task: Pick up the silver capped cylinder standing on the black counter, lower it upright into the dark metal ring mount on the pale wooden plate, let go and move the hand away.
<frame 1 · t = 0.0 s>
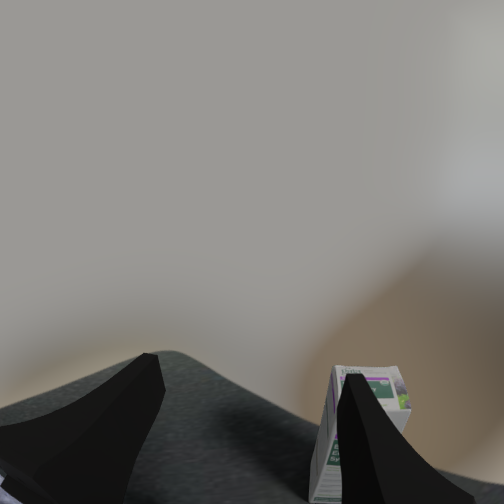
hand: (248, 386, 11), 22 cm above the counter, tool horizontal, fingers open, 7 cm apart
syrup box: (335, 483, 25), on the counter
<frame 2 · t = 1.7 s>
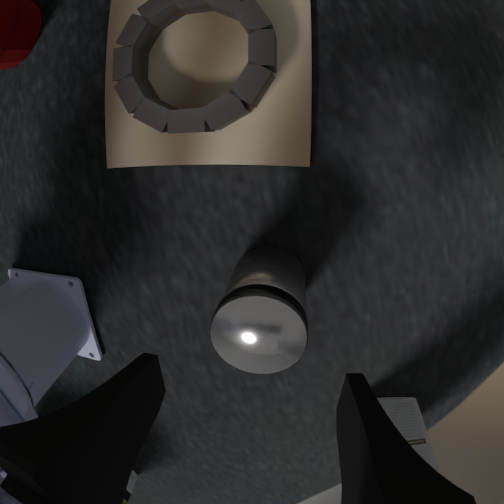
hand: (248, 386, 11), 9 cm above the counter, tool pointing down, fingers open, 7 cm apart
plastic cup: (19, 37, 15), on the counter
silver capped cylinder: (269, 279, 19), on the counter
mount plate: (201, 61, 15), on the counter
syrup box: (377, 415, 23), on the counter
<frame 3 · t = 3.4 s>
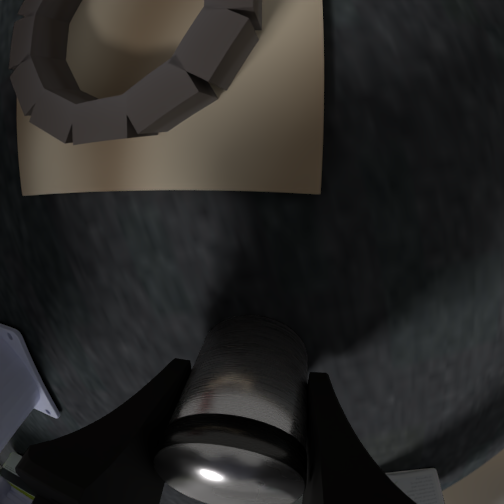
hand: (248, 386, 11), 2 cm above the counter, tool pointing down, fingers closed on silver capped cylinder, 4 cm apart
silver capped cylinder: (254, 358, 13), on the counter, touching gripper
mount plate: (142, 25, 8), on the counter
tea box: (65, 483, 27), on the counter
syrup box: (388, 485, 16), on the counter
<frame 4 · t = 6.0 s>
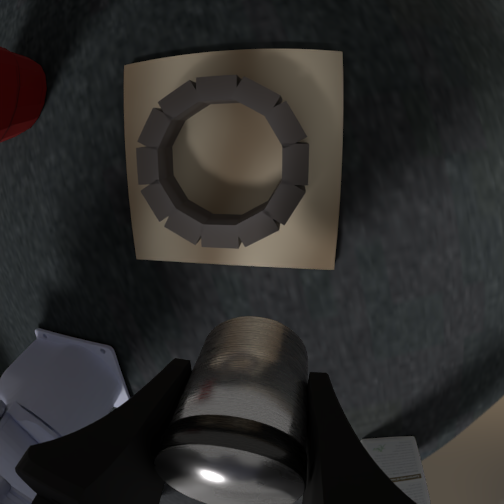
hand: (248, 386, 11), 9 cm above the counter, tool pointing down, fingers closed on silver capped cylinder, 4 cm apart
plastic cup: (23, 98, 17), on the counter
silver capped cylinder: (254, 359, 13), point 7 cm above the counter, touching gripper
mount plate: (228, 158, 17), on the counter
syrup box: (380, 450, 25), on the counter
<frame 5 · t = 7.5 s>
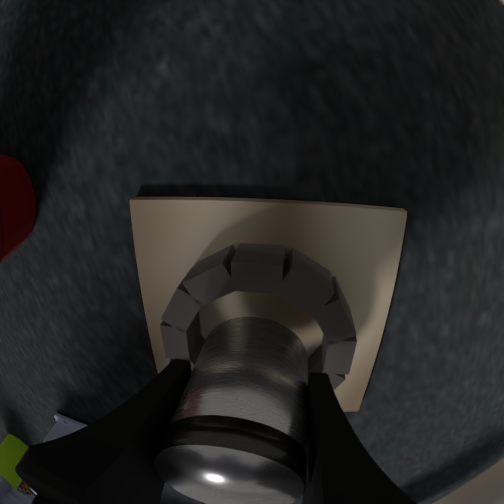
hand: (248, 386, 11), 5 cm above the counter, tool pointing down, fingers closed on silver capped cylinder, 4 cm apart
plastic cup: (10, 201, 15), on the counter
silver capped cylinder: (254, 359, 13), point 3 cm above the counter, touching gripper
mount plate: (262, 320, 15), on the counter
soap dispenser: (22, 446, 32), on the counter
when the fingers open (4 cm above the counter, at t = 8.9 s): silver capped cylinder drops 1 cm, resting on mount plate.
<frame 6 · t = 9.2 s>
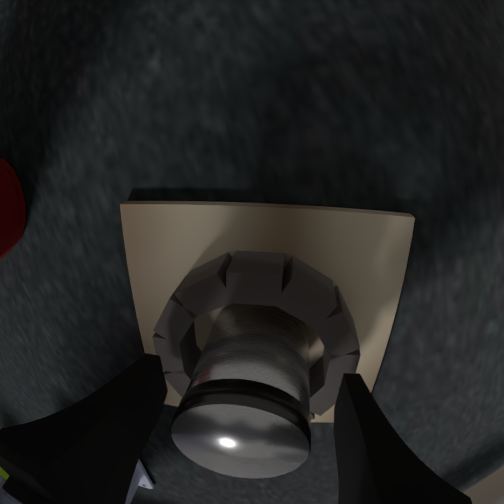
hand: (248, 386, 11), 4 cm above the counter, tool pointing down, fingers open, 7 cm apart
plastic cup: (0, 204, 15), on the counter
silver capped cylinder: (260, 339, 14), point 1 cm above the counter, touching mount plate
mount plate: (260, 330, 15), on the counter
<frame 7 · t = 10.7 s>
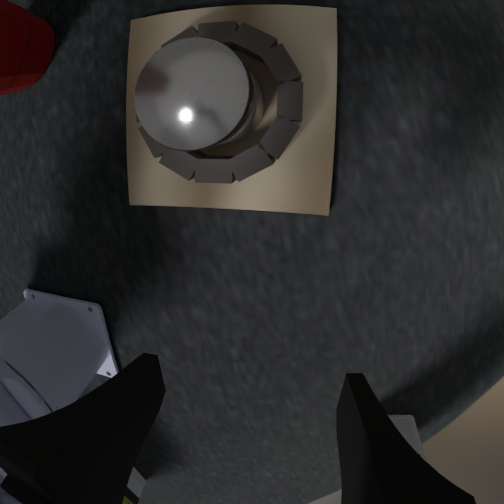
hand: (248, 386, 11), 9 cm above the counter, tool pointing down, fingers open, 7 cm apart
plastic cup: (31, 57, 16), on the counter
silver capped cylinder: (224, 103, 16), point 1 cm above the counter, touching mount plate
mount plate: (225, 103, 16), on the counter
tea box: (94, 453, 35), on the counter
syrup box: (377, 430, 25), on the counter
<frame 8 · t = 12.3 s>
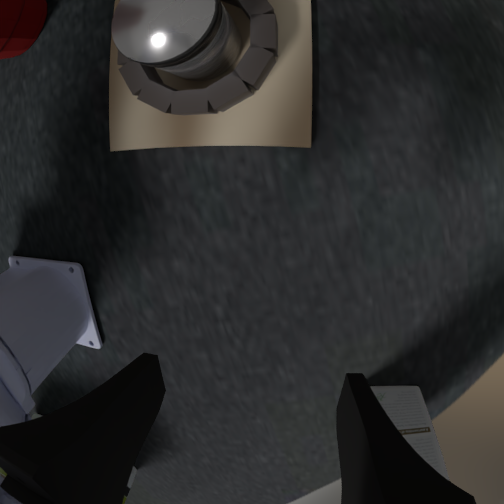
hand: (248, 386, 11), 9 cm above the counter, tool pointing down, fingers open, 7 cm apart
plastic cup: (24, 27, 15), on the counter
silver capped cylinder: (202, 45, 15), point 1 cm above the counter, touching mount plate
mount plate: (204, 47, 15), on the counter
syrup box: (380, 405, 23), on the counter
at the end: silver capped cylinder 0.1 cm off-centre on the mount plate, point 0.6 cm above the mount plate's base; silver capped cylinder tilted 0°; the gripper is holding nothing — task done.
